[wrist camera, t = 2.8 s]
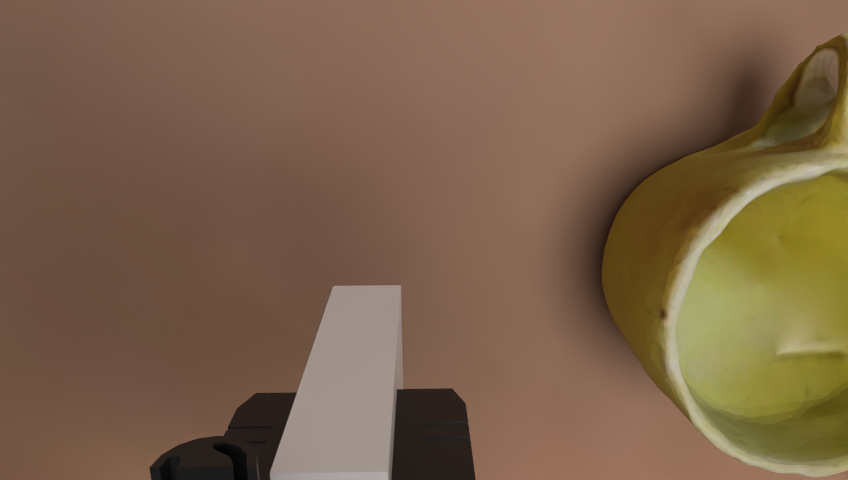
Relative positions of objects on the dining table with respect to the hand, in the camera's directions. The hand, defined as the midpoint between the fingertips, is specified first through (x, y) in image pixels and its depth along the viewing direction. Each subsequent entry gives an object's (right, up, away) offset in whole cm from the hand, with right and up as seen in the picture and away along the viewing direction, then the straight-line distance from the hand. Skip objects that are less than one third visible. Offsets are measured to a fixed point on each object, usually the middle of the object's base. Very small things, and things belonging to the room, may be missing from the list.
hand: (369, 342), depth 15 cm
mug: (+12, +4, +10) cm, 17 cm away
